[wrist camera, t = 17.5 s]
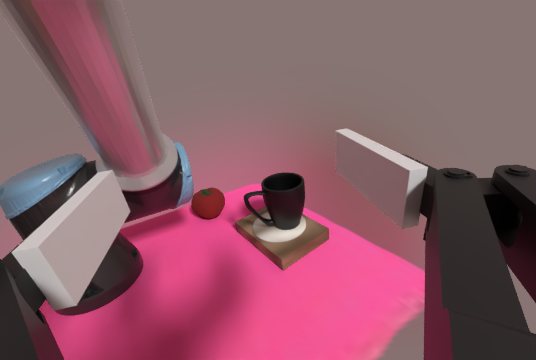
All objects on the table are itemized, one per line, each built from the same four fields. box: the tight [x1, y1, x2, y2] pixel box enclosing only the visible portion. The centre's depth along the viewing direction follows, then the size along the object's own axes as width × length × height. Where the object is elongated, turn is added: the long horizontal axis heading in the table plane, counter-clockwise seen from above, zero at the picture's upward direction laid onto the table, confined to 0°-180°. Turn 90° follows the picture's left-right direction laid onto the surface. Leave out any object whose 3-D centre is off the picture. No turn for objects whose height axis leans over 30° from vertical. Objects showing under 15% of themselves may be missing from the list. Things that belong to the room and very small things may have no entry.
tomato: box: [192, 188, 225, 219], centre depth 63 cm, size 8×8×7 cm
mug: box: [244, 173, 305, 230], centre depth 50 cm, size 8×12×10 cm
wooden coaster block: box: [235, 207, 329, 271], centre depth 53 cm, size 16×12×3 cm
